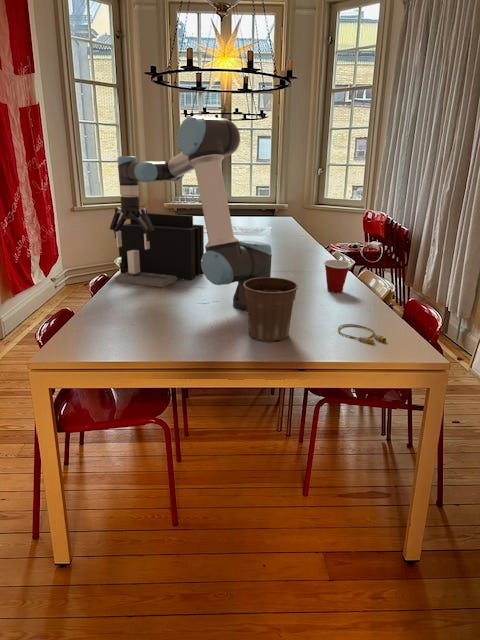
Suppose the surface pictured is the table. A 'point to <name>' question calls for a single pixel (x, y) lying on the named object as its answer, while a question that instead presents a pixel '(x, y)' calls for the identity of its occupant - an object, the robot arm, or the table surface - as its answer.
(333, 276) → the plastic cup
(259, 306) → the plant pot
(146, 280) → the fader panel
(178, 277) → the game console
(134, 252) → the fader
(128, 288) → the table surface
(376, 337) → the looped cable
